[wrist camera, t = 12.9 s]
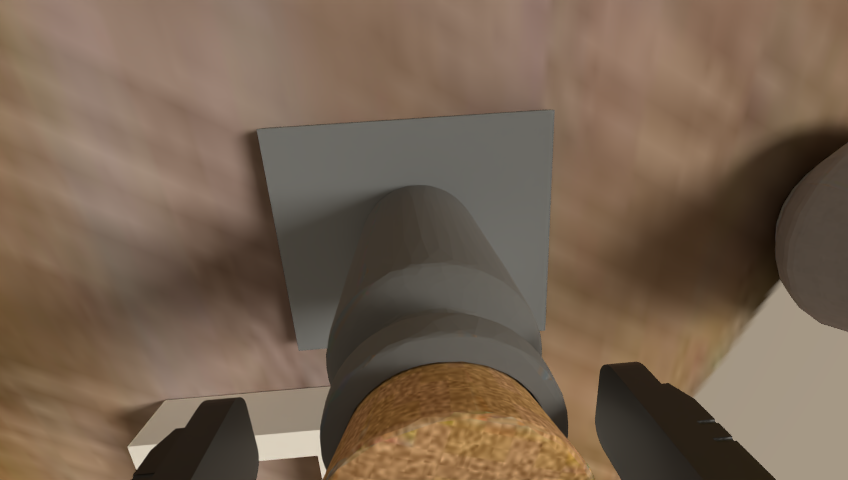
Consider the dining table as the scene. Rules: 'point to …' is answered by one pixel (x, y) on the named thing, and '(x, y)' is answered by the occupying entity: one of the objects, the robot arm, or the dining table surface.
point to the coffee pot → (817, 241)
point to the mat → (397, 168)
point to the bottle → (438, 358)
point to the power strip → (270, 417)
